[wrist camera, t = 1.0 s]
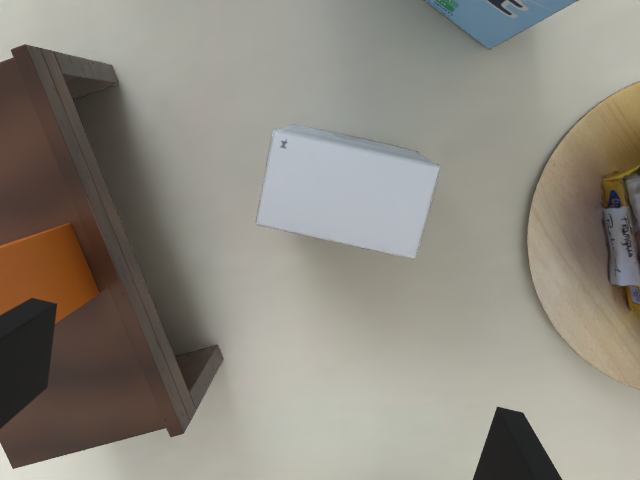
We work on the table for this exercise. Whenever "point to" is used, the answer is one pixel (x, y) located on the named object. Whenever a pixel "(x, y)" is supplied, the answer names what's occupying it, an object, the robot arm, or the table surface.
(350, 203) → the cosmetics box
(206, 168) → the table surface
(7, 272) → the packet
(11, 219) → the wooden bench
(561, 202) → the plate of yellow boxes
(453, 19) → the gum box
